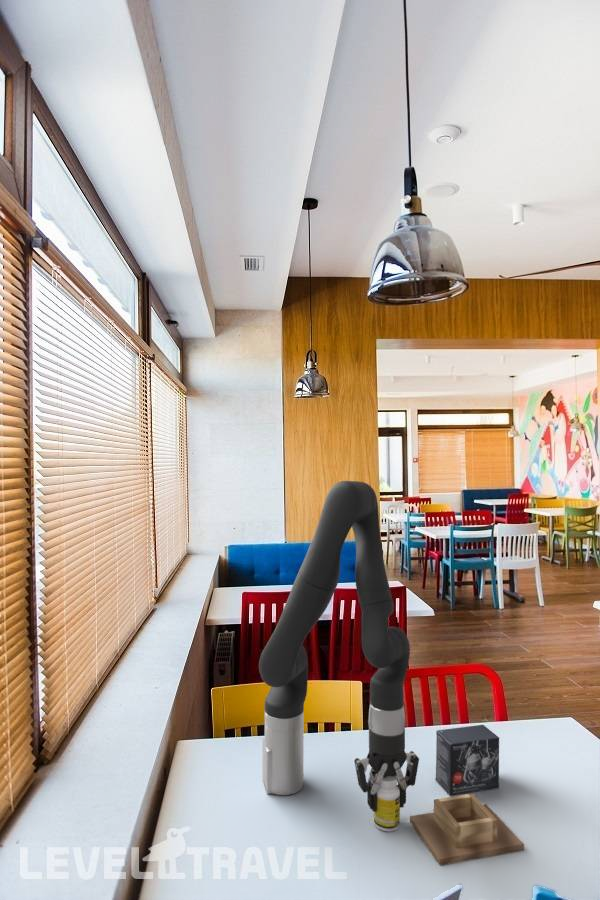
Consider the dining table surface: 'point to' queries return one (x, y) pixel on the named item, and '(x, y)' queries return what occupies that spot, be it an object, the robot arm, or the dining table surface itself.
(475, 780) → the small box
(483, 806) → the holder stand
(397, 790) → the supplement bottle
